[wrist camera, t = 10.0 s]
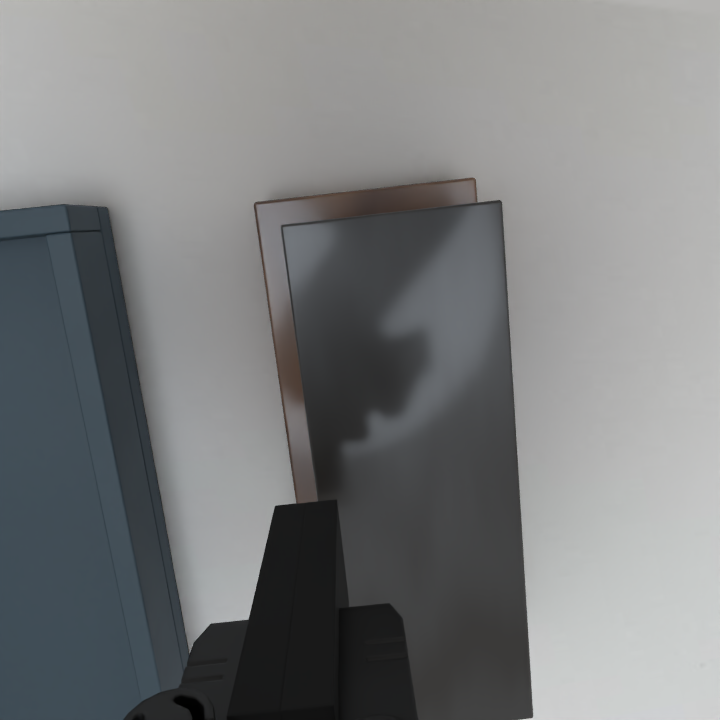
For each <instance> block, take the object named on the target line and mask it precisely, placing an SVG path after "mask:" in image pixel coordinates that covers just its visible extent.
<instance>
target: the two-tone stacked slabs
mask: <svg viewBox="0 0 720 720" xmlns="http://www.w3.org/2000/svg"><path fill="white" fill-rule="evenodd" d="M254 210H255V217H256V224H257V231H258V238H259V245H260V252H261V259H262V266H263V273H264V280H265V287H266V294H267V301H268V308H269V315H270V322H271V329H272V336H273V343H274V350H275V357H276V364H277V371H278V378H279V385H280V392H281V399H282V406H283V413H284V420H285V427H286V434H287V441H288V448H289V455H290V462H291V469H292V476H293V483H294V490H295V497H296V504H297V503H307V502H316V501H326V500H335V499H337V503H338V512H339V520H340V529H341V537H342V546H343V554H344V563H345V571H346V580H347V588H348V597H349V607H356V606H365V605H374V604H384V603H390V604H391V605H392V606H393V607H394V608H395V610H396V611H397V612H398V613H399V614H400V615H401V617H402V618H403V623H404V629H405V636H406V643H407V649H408V657H409V662H410V669H411V676H412V682H413V689H414V695H415V702H416V709H417V715H418V720H520V719H528V718H532V717H533V706H532V689H531V673H530V656H529V640H528V623H527V607H526V590H525V574H524V557H523V541H522V524H521V508H520V491H519V475H518V458H517V442H516V425H515V409H514V392H513V376H512V359H511V343H510V326H509V310H508V293H507V277H506V260H505V244H504V227H503V211H502V202H501V201H500V200H495V201H487V202H478V203H477V188H476V179H475V178H464V179H455V180H446V181H437V182H428V183H420V184H411V185H402V186H393V187H384V188H375V189H367V190H358V191H349V192H340V193H331V194H322V195H313V196H305V197H296V198H287V199H278V200H269V201H260V202H255V203H254Z"/></svg>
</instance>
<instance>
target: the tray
mask: <svg viewBox="0 0 720 720" xmlns="http://www.w3.org/2000/svg"><path fill="white" fill-rule="evenodd" d="M188 659H189V652H188V647H187V641H186V636H185V630H184V625H183V619H182V614H181V608H180V603H179V597H178V592H177V586H176V581H175V575H174V570H173V564H172V559H171V554H170V548H169V543H168V537H167V532H166V526H165V521H164V515H163V510H162V504H161V499H160V493H159V488H158V482H157V477H156V471H155V466H154V460H153V455H152V450H151V444H150V439H149V433H148V428H147V422H146V417H145V411H144V406H143V400H142V395H141V389H140V384H139V378H138V373H137V367H136V362H135V356H134V351H133V346H132V340H131V335H130V329H129V324H128V318H127V313H126V307H125V302H124V296H123V291H122V285H121V280H120V274H119V269H118V263H117V258H116V252H115V247H114V242H113V236H112V231H111V225H110V220H109V214H108V209H107V207H98V206H83V205H69V204H61V205H51V206H41V207H32V208H22V209H12V210H3V211H0V720H124V718H125V717H126V715H127V714H128V713H129V712H130V711H131V710H132V709H134V708H135V707H136V706H137V705H138V704H139V703H141V702H142V701H144V700H146V699H147V698H149V697H151V696H153V695H155V694H157V693H159V692H163V691H167V690H171V689H175V688H178V687H179V685H180V684H181V679H182V676H183V673H184V670H185V667H187V662H188Z"/></svg>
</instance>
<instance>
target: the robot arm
mask: <svg viewBox="0 0 720 720" xmlns="http://www.w3.org/2000/svg"><path fill="white" fill-rule="evenodd" d="M124 720H418V715H417V709H416V702H415V695H414V689H413V682H412V676H411V669H410V662H409V657H408V649H407V643H406V636H405V629H404V623H403V618H402V617H401V615H400V614H399V613H398V612H397V611H396V610H395V608H394V607H393V606H392V605H391V604H390V603H384V604H374V605H365V606H356V607H349V597H348V588H347V580H346V571H345V563H344V554H343V546H342V537H341V529H340V520H339V512H338V503H337V499H335V500H326V501H316V502H307V503H297V504H288V505H278V506H275V509H274V513H273V517H272V522H271V526H270V530H269V535H268V539H267V543H266V548H265V552H264V556H263V561H262V565H261V569H260V574H259V578H258V582H257V587H256V591H255V595H254V599H253V604H252V608H251V612H250V617H249V620H242V621H233V622H223V623H214V624H210V625H209V626H208V627H207V629H206V630H205V631H204V632H203V633H202V634H201V635H200V636H199V638H198V639H197V640H196V641H195V642H194V644H193V647H192V650H191V653H190V656H189V659H188V662H187V667H185V670H184V673H183V676H182V679H181V684H180V685H179V687H178V688H175V689H171V690H167V691H163V692H159V693H157V694H155V695H153V696H151V697H149V698H147V699H146V700H144V701H142V702H141V703H139V704H138V705H137V706H136V707H135V708H134V709H132V710H131V711H130V712H129V713H128V714H127V715H126V717H125V718H124Z"/></svg>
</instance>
